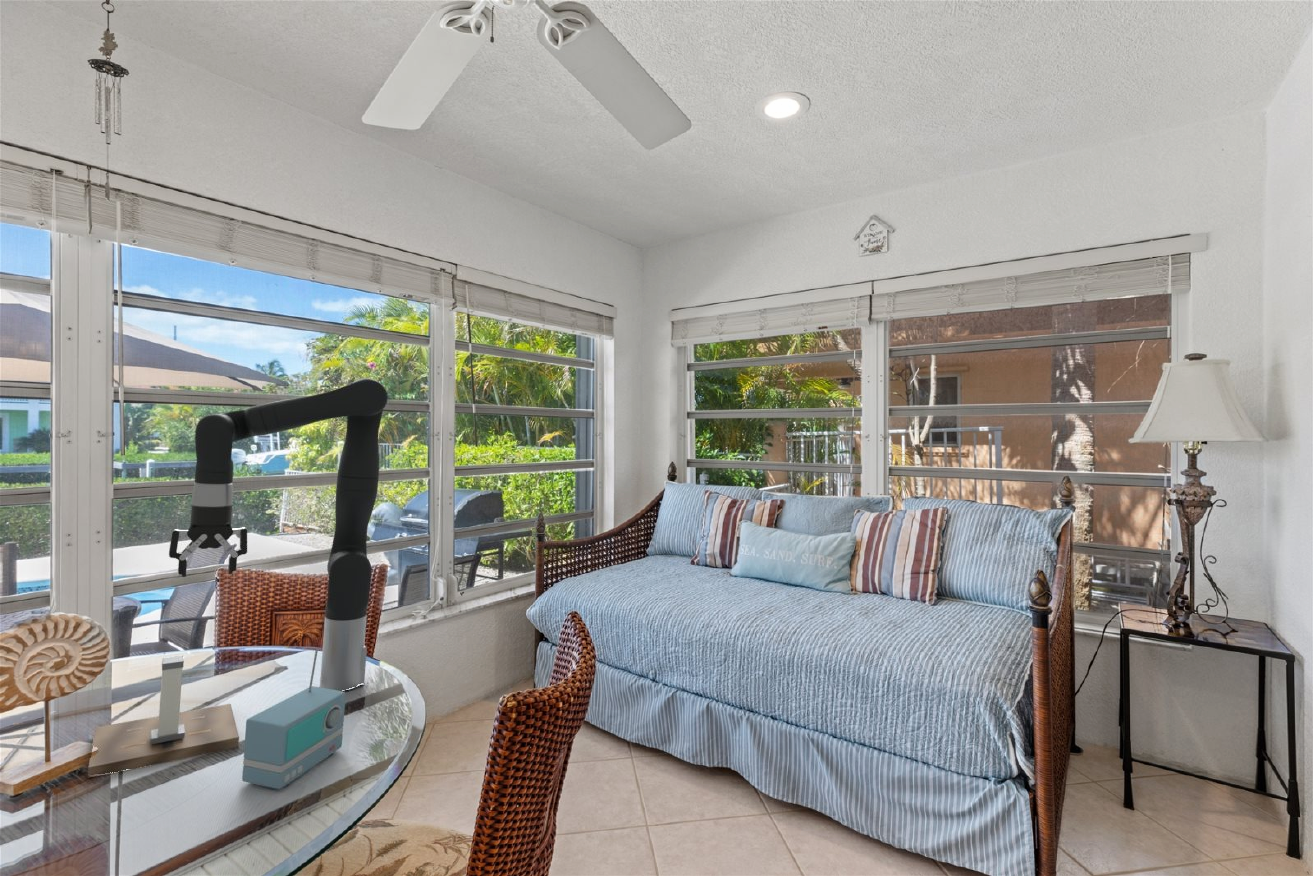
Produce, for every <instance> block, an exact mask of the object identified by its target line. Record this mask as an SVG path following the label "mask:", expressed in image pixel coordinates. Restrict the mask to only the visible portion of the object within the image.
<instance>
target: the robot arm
mask: <svg viewBox="0 0 1313 876" xmlns="http://www.w3.org/2000/svg"><path fill="white" fill-rule="evenodd" d="M388 399H389V396H388V392H387V390H386V387H385V386H384V385H383V384H382V383H381V382H379V381H378V380H376V379H373V378H368V377H365V378H364V377H363V378H359V379H356V380H355V381H353V382H351V383H350V384H346V385H343V386H341V387H339V388H335V389H332V390H328V391H325V392H322V393H316V394H312V395H307V396H305V395H304V396H300V397H295V398H288V399H287V398H286V399H281V400H277V401H271V402H266V403H262V404H257V405H256V404H255V405H253V406H251V407H248V408H245V409H240V410H239V409H238V410H235V411H234V410H233V411H227V412H226V411H225V412H222V413H213V414H207V415H205V416H203V417H202V418H201V419H199V421H198V422H197V423H196V427H195V432H194V433H195V434H194V435H195V436H194V440H195V441H194V444H195V456H196V462H195V463H196V464H195V472H194V485H193V488H192V492H191V493H192V495H191V500H190V501H191V509H190V511H191V512H190V523H189V527H188V529H186V530H185V529H178V528H174V529H172V530H171V536H170V542H169V543H170V544H169V551H168V557H169V558H170V559H176V560H177V561H178V565H177V566H178V568H177V573H178V575H181V577H182V578H186V577H187V566H188V559H187V558H188V557H189V556H190V555H191V554H192V553H194V552H195V550H197V549H201V550H207V549H219V548H221V547H222V548H223V549H224V550H225V551H226V552H227V553H228V554H229V556H228V565H227V566H228V568H227V574H228V575H233V573H234V572H236V570H237V566H238V564H237V562H238V558H239V556H242V555H246V554H247V553H248V530H247V528H246V527H245V526H242V527H239V528H233V527H232V516H233V501H234V483H233V481H234V461H233V458H232V456H233V455H232V454H233V443H234V442H238V441H242V440H246V439H250V438H253V437H261V436H266V435H273V434H276V433H280V432H285V431H289V430H294V429H297V428H301V427H303V426H307V425H311V424H314V423H317V422H322V421H327V420H332V419H335V418H342V417H343V418H344V417H346V432H345V439H344V441H343V447H342V451H341V454H340V459H339V464H338V468H337V469H338V470H337V476H336V477H337V478H336V484H335V485H336V487H335V505H334V506H335V507H334V509H335V510H334V511H335V528H334V535H333V540H332V544H331V549H330V554H329V558H328V562H327V574H328V584H327V585H328V586H327V596H326V597H327V598H326V604H325V609H324V625H323V626H324V627H323V638H322V639H323V640H322V653H321V665H320V679H319V687H320V688H326V689H332V690H337V691H342V690H346V689H349V688H352V687H356V686H357V685H358V684H361V683H364V684H365V679H366V677H365V676H366V667H367V666H366V665H367V652H368V647H367V646H366V645H365V642H366V630H367V629H366V628H367V627H366V626H367V617H368V615H367V614H368V606H369V602H370V595H371V585H372V584H371V583H372V565H371V562H370V559H369V558H368V554H367V553H368V551H367V543H368V542H367V541H368V539H367V538H368V537H367V536H368V527H369V524H370V523H369V522H370V519H371V516H372V514H373V511H374V508H375V504H376V499H377V494H378V486H379V478H380V477H379V476H380V451H379V431H380V426H381V420H382V416H383V413H384V412H383V411H384V408H385V407H386V405H387V404H388ZM233 534H235V536H236V538H238V539H239V548H238V549H235V548H234V547H233V546H232V545H231V544H230V542H229V541H228V540H229V539H230V537H231V536H233ZM185 536H187V537H188V538H189V539H190V540H191V541H190V542H189V543H188V544H187V546H185V548H184V549H183V550H182V551H181V552H180V551H178V544H179V541H182V540H183V539H184V537H185ZM231 538H232V537H231Z"/></svg>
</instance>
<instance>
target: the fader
mask: <svg viewBox="0 0 1313 876" xmlns="http://www.w3.org/2000/svg"><path fill="white" fill-rule="evenodd" d="M184 663H185V661H184V655H180V656H179V655H178V656H171V657H165V658H164V657H163V658H162V659H161V681H160V682H161V683H160V695H159V696H160V697H159V698H160V700H159V712H158V713H159V714H158V716H159V724H158V729H155V730H151V744H156V743H161V742H166V741H171V740H176V739H181V738H184V736H185V730H184V724H182V725H179V713H180V712H181V709H180V708H181V697H182V695H181V694H182V679H183V668H184Z"/></svg>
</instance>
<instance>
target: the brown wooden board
mask: <svg viewBox="0 0 1313 876" xmlns="http://www.w3.org/2000/svg"><path fill="white" fill-rule="evenodd" d="M158 724H159V715H158V716H154V717H147V718H141V719H136V720H130V721H123V722H118V723H112V724H106V725H100V726H95V727H94V728H95V729H94V733H93V737H92V738H93V739H92V745H91V747H92V746H94V747H97V748H98V749H99V750H98V751H99V752H98V753H97V754H96V755H95V756H93V757H91V758H90V757H89V761H88V767H87V768H88V769H87V777H88V776H89V775H94V774H105V773H110V772H111V773H112V772H113V774H115V773H114V772H118V771H121V770H126V769H132V770H136V768H137V769H141V768H140V767H142V768H145V766H146V767H150V765H151V766H155V765H161V764H165V763H168V762H175V761H179V760H182V759H183V760H184V759H188V758H193V757H197V756H202V755H208V754H213V753H217V752H222V751H225V750H226V751H227V750H230V749H236V748H239V744H240V743H239V742H240V736H239V730H238V727H237V723H236V720H235V715H234V711H233V708H232V704H231V703H227V704H222V705H216V706H210V707H204V708H199V709H198V708H197V709H193V710H186V711H182V712H181V711H180V713H179V725H182V724H184V730H185V736H184V738H181V739H176V740H171V741H166V742H161V743H156V744H151V730H155V729H158ZM174 760H175V761H174ZM118 773H119V772H118Z"/></svg>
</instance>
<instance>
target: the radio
mask: <svg viewBox="0 0 1313 876" xmlns="http://www.w3.org/2000/svg"><path fill="white" fill-rule="evenodd" d="M318 651H319V649H318V648H317V649H316V650H315V651H314V652H315V653H314V657H313V658H314V659H313V664H312V669H311V670H312V671H311V677H310V680H309V681H310V682H309V687H307V688H305V689H304V690H301V691H299V692H297V693H295V694H293V695H292V696H289V697H288V698H285V699H283V700H282V701H279V702H277V703H276V704H274V705H272V706H270V707H268V708H266V709H264V710H263V711H260V712H257V714H255V715H253V716H250V717H249V718H247V719H246V721H245V735H244V736H245V737H244V748H243V761H242V762H243V765H242V777H241V779H242V780H241V781H242V782H244V783H248V784H254V785H257V786H258V785H259V786H263V787H266V788H271V789H276V790H281V789H284V788H286V787H288V786H289V784H290V783H292V782H293V781H294V780H296V779H297V778H299V777H300V776H302V775H303V774H305V773H306V772H307V771H309V770H310V769H312V768H314V766H316V765H318V764H319V763H321V762H322V761H324V760H325V759H326V758H328V757H332V755H334V753H335V752H336V751H338V750H340V749H341V748H342V747H343V732H344V721H345V709H346V708H345V707H346V691H344V692H343V691H337V690H332V689H326V688H320V686H314V685H313V681H314V676H315V675H314V674H315V668H316V665H317V664H316V662H317V657H318Z"/></svg>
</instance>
